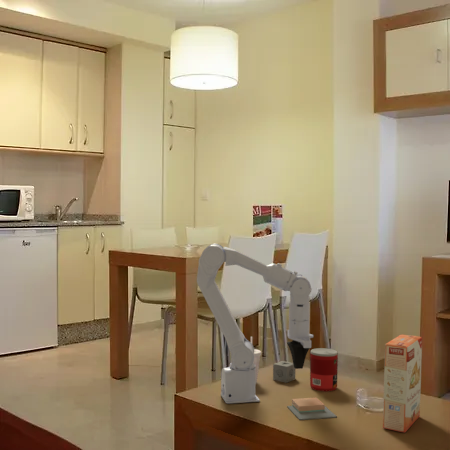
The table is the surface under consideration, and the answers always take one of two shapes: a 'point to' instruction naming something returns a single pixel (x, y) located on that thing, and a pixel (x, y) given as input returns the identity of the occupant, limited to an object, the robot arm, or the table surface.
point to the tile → (308, 405)
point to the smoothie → (256, 359)
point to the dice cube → (283, 371)
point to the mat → (312, 414)
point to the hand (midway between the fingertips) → (298, 368)
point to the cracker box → (402, 382)
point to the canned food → (323, 369)
